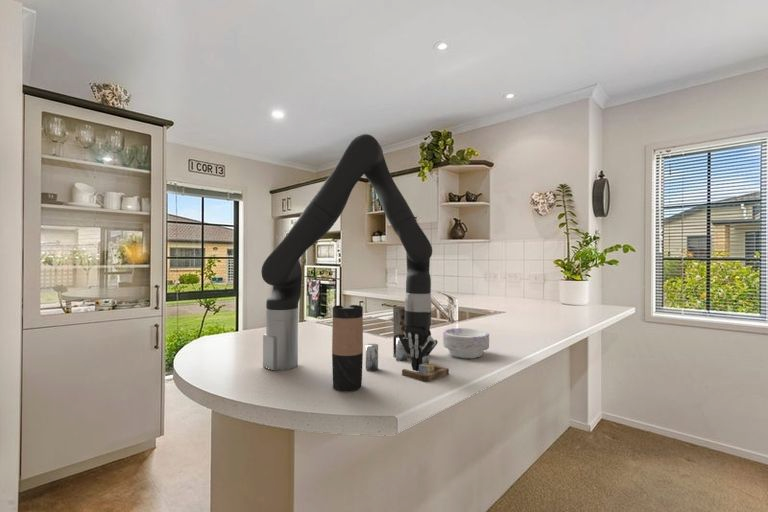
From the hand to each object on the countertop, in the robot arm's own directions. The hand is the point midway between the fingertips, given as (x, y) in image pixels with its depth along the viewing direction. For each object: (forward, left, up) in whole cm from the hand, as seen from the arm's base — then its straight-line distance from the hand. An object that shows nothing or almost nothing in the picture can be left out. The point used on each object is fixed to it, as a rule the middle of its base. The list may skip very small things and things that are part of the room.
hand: (416, 370), depth 106 cm
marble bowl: (+27, +1, -1) cm, 27 cm away
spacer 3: (+8, +4, -1) cm, 9 cm away
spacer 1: (-7, +11, -1) cm, 13 cm away
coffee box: (+13, +15, -1) cm, 20 cm away
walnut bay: (0, -3, -1) cm, 3 cm away
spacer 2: (+7, +12, -1) cm, 14 cm away
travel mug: (-22, +4, -1) cm, 22 cm away
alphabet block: (0, -4, -1) cm, 4 cm away
